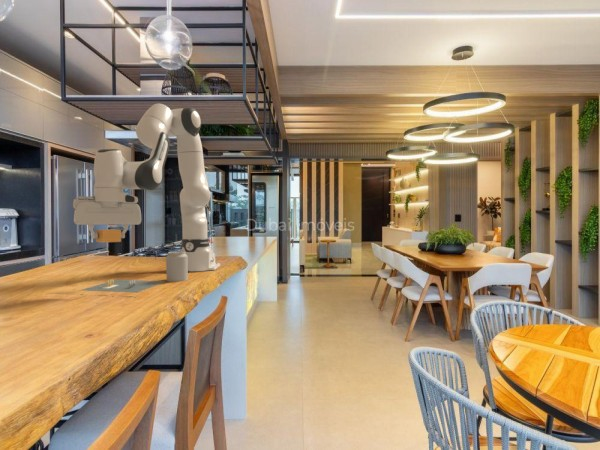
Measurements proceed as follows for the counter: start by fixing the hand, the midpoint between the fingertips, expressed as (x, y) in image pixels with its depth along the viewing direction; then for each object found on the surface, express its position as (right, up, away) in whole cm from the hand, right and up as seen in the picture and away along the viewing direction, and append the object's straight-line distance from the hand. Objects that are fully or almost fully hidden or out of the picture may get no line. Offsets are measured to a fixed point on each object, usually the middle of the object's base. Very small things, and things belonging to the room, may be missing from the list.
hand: (108, 238), depth 130 cm
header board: (+5, -18, +3) cm, 19 cm away
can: (+19, -18, +14) cm, 29 cm away
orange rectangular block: (0, -1, 0) cm, 1 cm away
